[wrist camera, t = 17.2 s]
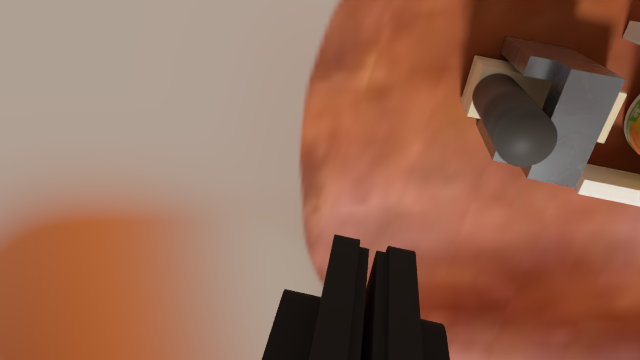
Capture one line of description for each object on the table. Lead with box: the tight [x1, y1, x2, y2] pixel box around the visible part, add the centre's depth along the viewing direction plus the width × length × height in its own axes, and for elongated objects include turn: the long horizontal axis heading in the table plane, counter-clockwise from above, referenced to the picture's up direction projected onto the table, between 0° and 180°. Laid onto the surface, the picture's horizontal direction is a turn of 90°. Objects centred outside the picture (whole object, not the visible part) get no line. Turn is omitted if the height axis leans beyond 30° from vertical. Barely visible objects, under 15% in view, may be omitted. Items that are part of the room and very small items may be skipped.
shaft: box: [461, 55, 627, 167], centre depth 25 cm, size 8×3×10 cm, turn 81°
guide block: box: [476, 36, 626, 188], centre depth 27 cm, size 4×6×7 cm
